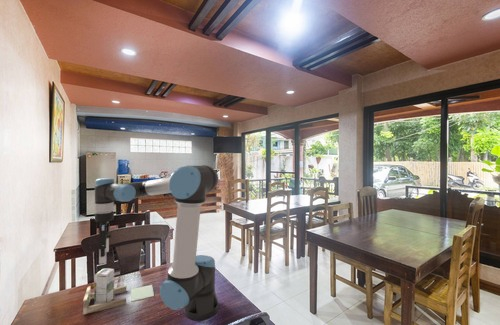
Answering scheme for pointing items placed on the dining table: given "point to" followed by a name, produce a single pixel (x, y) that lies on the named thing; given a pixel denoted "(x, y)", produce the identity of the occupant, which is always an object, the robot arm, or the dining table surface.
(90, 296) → the wooden channel
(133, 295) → the sage mat
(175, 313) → the dining table surface
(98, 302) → the syrup box
